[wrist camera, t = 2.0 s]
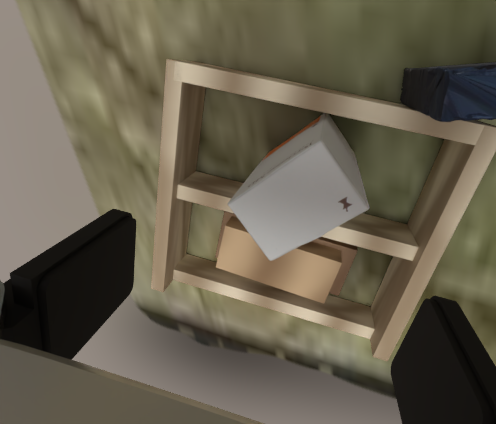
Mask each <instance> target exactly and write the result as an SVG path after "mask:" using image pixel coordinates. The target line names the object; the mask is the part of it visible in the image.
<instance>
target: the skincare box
mask: <svg viewBox="0 0 496 424" xmlns="http://www.w3.org/2000/svg"><path fill="white" fill-rule="evenodd" d="M228 206H229V207H230V208H231V210H232V211H233V212H234V214H235V215H236V216H237V218H238V219H239V220H240V222H241V223H242V224H243V226H244V227H245V228H246V230H247V231H248V232H249V234H250V235H251V237H252V238H253V239H254V241H255V242H256V243H257V245H258V246H259V247H260V249H261V250H262V251H263V253H264V254H265V255H266V257H267V258H268V259H269V260H270V261H272V260H275V259H277V258H279V257H281V256H282V255H284V254H286V253H288V252H290V251H292V250H294V249H296V248H297V247H299V246H301V245H304V244H306V243H309V242H311V241H313V240H315V239H317V238H319V237H321V236H323V235H324V234H325V233H327V232H329V231H330V230H332V229H334V228H336V227H338V226H339V225H341V224H343V223H345V222H347V221H348V220H350V219H352V218H354V217H356V216H358V215H360V214H361V213H363V212H365V211H367V210H368V209H369V204H368V201H367V198H366V193H365V190H364V186H363V182H362V178H361V174H360V171H359V167H358V164H357V160H356V156H355V153H354V152H353V150H352V149H351V147H350V145H349V144H348V142H347V141H346V139H345V137H344V136H343V134H342V133H341V131H340V130H339V128H338V127H337V126H336V124H335V123H334V121H333V120H332V118H331V117H330V115H329V114H328V113H323V114H322V115H320V116H319V117H318V118H316V119H315V120H314V121H312V122H311V123H310V124H308V125H307V126H306V127H304V128H303V129H302V130H300V131H299V132H298V133H296V134H295V135H293V136H292V137H290V138H289V139H287V140H286V141H284V142H283V143H281V144H280V145H279V146H277V147H276V148H274V149H273V150H271V151H270V152H268V153H267V154H266V156H265V157H264V158H263V159H262V161H261V162H260V163H259V164H258V166H257V167H256V168H255V169H254V171H253V172H252V173H251V174H250V176H249V177H248V178H247V179H246V181H245V182H244V183H243V184H242V186H241V187H240V188H239V190H238V191H237V192H236V193H235V195H234V196H233V197H232V198H231V200H230V201H229V202H228Z"/></svg>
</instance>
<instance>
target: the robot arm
mask: <svg viewBox="0 0 496 424" xmlns="http://www.w3.org/2000/svg"><path fill="white" fill-rule="evenodd" d="M135 239H136V220H135V219H133V218H132V215H131V214H130V213H128V212H124V211H120V210H117V209H112V210H110V211H108V212H107V213H105V214H104V215H102V216H100V217H99V218H97V219H96V220H94V221H93V222H91V223H89V224H88V225H86V226H85V227H83V228H81V229H80V230H78V231H77V232H75V233H73V234H72V235H70V236H69V237H67V238H66V239H64V240H62V241H61V242H59V243H58V244H56V245H54V246H53V247H51V248H49V249H48V250H46V251H45V252H43V253H41V254H40V255H38V256H37V257H35V258H33V259H32V260H30V261H29V262H27V263H26V264H24V265H23V266H21V267H19V268H18V269H16V270H14V271H13V272H11V273H10V277H11V279H9V280H8V281H6V282H5V283H2V282H1V281H0V424H264V423H260V422H258V421H255V420H252V419H249V418H246V417H243V416H240V415H237V414H234V413H231V412H228V411H225V410H222V409H219V408H216V407H213V406H210V405H207V404H204V403H201V402H198V401H195V400H192V399H189V398H186V397H183V396H180V395H177V394H174V393H171V392H168V391H165V390H162V389H159V388H156V387H153V386H150V385H147V384H144V383H141V382H138V381H135V380H132V379H128V378H125V377H122V376H119V375H116V374H113V373H110V372H107V371H104V370H101V369H98V368H95V367H92V366H89V365H86V364H83V363H80V362H77V361H73V360H72V358H73V357H74V356H75V355H76V354H77V352H79V351H80V350H81V348H82V347H83V346H84V345H85V344H86V343H87V342H88V341H89V339H90V338H91V337H92V336H93V335H94V334H95V333H96V332H97V330H98V329H99V328H100V327H101V326H102V325H103V324H104V323H105V321H106V320H107V319H108V318H109V317H110V316H111V315H112V314H113V312H114V311H115V310H116V309H117V308H118V307H119V306H120V305H121V303H122V302H123V301H124V300H125V299H126V298H127V297H128V296H129V294H130V293H131V291H132V288H133V282H134V260H135ZM391 376H392V381H393V385H394V389H395V394H396V398H397V402H398V407H399V411H400V415H401V419H402V424H496V366H495V365H494V363H493V361H492V360H491V358H490V356H489V355H488V353H487V351H486V350H485V348H484V346H483V345H482V343H481V341H480V340H479V338H478V336H477V335H476V333H475V331H474V330H473V328H472V326H471V325H470V323H469V321H468V320H467V318H466V316H465V315H464V313H463V311H462V310H461V308H460V306H459V304H458V303H457V302H456V301H453V300H449V299H445V298H442V297H438V296H433V297H432V298H431V299H425V300H424V301H423V303H422V305H421V307H420V309H419V311H418V313H417V315H416V316H415V318H414V320H413V322H412V324H411V326H410V328H409V330H408V332H407V334H406V336H405V338H404V340H403V342H402V344H401V346H400V348H399V350H398V352H397V354H396V355H395V357H394V359H393V362H392V365H391Z"/></svg>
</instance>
